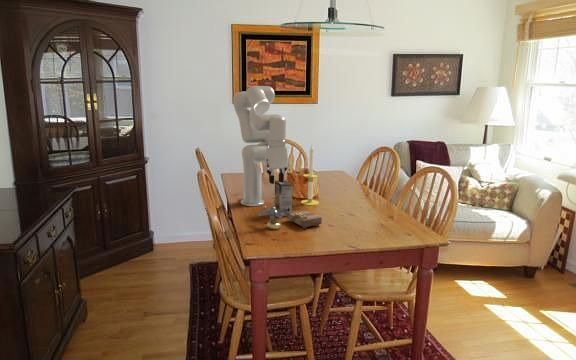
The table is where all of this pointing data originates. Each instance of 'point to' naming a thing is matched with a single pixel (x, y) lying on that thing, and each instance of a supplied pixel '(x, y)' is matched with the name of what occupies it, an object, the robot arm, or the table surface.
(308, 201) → the candle
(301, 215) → the brown switch box
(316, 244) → the table surface
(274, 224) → the capstan
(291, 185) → the coffee box
